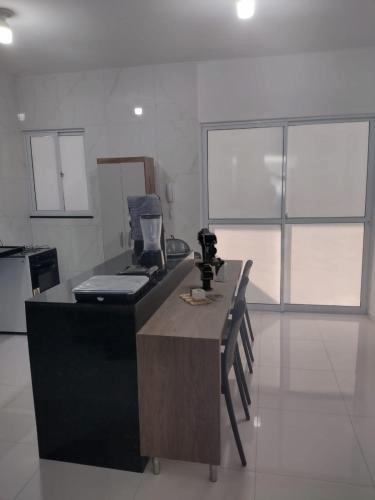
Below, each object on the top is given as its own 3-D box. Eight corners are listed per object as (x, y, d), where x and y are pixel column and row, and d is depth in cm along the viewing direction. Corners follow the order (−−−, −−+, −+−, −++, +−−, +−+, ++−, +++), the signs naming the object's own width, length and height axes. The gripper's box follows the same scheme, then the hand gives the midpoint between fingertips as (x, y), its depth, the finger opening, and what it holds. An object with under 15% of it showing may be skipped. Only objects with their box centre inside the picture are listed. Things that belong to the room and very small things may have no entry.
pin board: (179, 296, 237) (179, 288, 236) (198, 294, 242) (197, 285, 241) (192, 305, 219) (192, 296, 218) (211, 302, 224) (211, 293, 223)
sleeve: (192, 299, 227) (192, 289, 226) (201, 297, 230) (200, 288, 229) (196, 301, 222) (196, 292, 221) (205, 300, 224) (205, 290, 223)
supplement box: (228, 279, 278) (228, 263, 276) (224, 282, 272) (224, 265, 270) (219, 278, 282) (219, 262, 280) (215, 281, 276) (214, 264, 273)
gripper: (201, 256, 226) (202, 281, 228) (228, 253, 233) (228, 277, 235) (194, 253, 236) (194, 277, 238) (220, 250, 243) (220, 273, 246)
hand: (209, 276), depth 239 cm, fingers open, 9 cm apart
